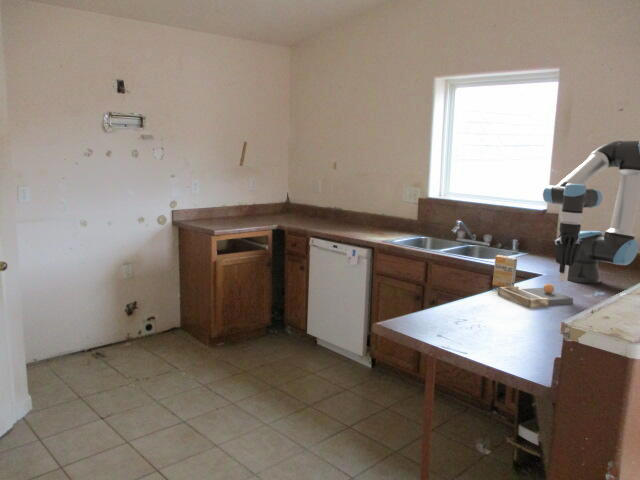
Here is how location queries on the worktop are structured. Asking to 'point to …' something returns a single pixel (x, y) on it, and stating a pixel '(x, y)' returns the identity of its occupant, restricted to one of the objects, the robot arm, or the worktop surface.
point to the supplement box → (504, 271)
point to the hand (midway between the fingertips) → (563, 280)
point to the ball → (548, 288)
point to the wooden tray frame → (521, 297)
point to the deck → (545, 296)
